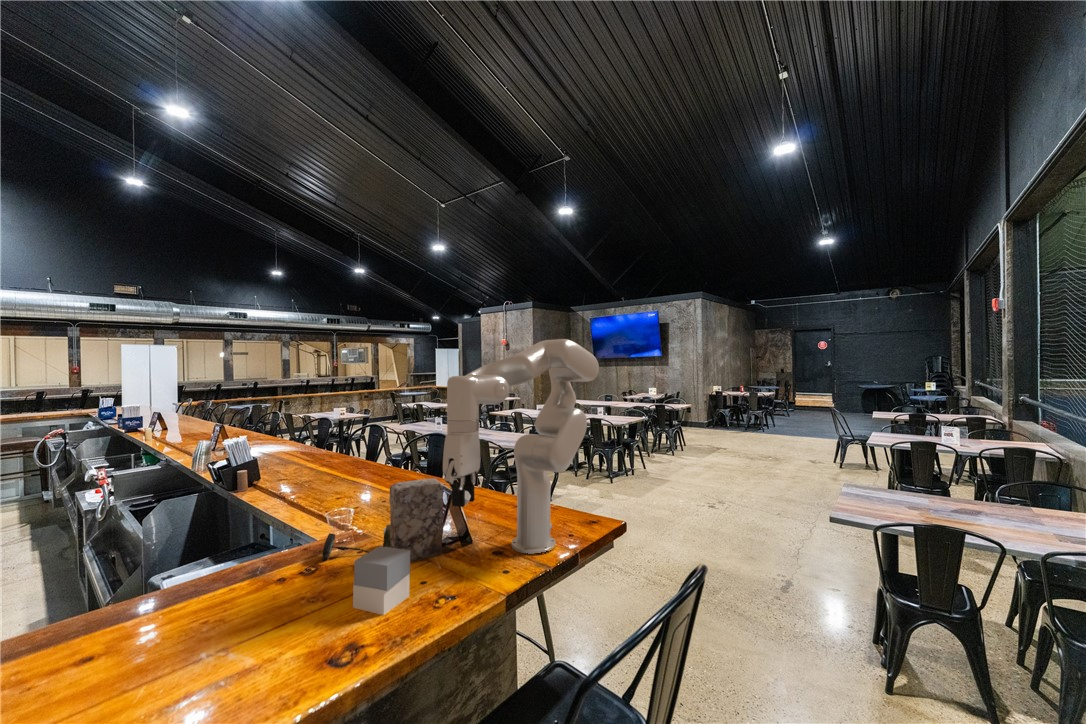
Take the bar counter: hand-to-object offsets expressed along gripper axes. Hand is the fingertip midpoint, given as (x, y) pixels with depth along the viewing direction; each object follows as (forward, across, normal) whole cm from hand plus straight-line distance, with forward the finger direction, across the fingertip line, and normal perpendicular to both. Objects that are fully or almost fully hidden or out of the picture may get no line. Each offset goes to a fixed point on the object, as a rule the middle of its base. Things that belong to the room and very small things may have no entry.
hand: (463, 502), depth 102 cm
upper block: (+13, +16, -10) cm, 23 cm away
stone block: (+18, -5, -18) cm, 26 cm away
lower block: (+18, +16, -10) cm, 26 cm away
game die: (+1, 0, 0) cm, 1 cm away
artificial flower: (+18, -3, -32) cm, 37 cm away
